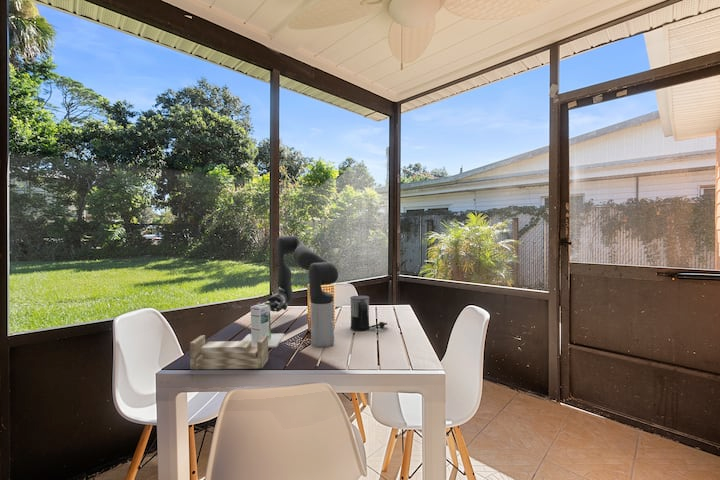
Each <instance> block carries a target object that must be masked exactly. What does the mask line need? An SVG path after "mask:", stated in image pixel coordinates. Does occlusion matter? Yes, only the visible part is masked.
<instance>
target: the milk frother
mask: <svg viewBox="0 0 720 480" xmlns="http://www.w3.org/2000/svg"><path fill="white" fill-rule="evenodd" d="M349 299H350V330H353V331H357V332H358V331H367V330H368V331H369V329H370V328H375V327H380V329H382V328H384V327H385V326H388V322H383V321H380V322H379V323H377V324H373V325H370V313H369V312H370V307H369V306H370V296H368V295H353V296H350V297H349Z"/></svg>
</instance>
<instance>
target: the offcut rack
mask: <svg viewBox="0 0 720 480" xmlns="http://www.w3.org/2000/svg"><path fill="white" fill-rule="evenodd" d="M268 360H269V348H268V335H263V336H262V337H261V338H260V339H259V341H258V342H257V346H251V341H242V340H235V341H233V340H232V341H225V340H224V341H223V340H222V341H208V342H207V343H206V335H205V334H204V335H202V334H201V335H199V336H198V337H196V338H195V339H194V340H192V341H190V342H189V362H190V365H189V367H190V370H234V369H235V370H240V369H241V370H242V369H243V370H246V369H247V370H249V369H250V370H251V369H252V370H253V369H255V370H256V369H263V368H264V367H265V365H266V363H267V362H268Z"/></svg>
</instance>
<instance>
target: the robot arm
mask: <svg viewBox="0 0 720 480" xmlns="http://www.w3.org/2000/svg"><path fill="white" fill-rule="evenodd" d="M290 254H293V256H292V257H293V261H294V263H295V264H296V265H297V266H298V267H299V268H301V269H303V270H306V271H308V284H309V297H310V344H311V346H313V347H315V348H316V347H317V348H325V347H330V346H332V347H333V346H334V344H335V318H334V295H333V294H332V293H331V292H326V291H324V290H322V286H328V285H332V284H334V283H336V282H337V280H338V278H339V271H338V269H337V266H336V265H335V264H334V263H333V262H332V261H329V260H328V259H325V258H324V257H322V256H321V255H319V254H318V253H316V252H315V251H314V250H312V249H311V248H309V246H307V245H306V244H304V243H303V242H302V240H300V238H299V237H297V236H296V235H285V236H284V235H283V236H279V237H278V238H277V239H276V255H277V256H276V258H277V268H278V269H277V273H278V274H277V286H278V288H276V289H274V292H273V294H272V295H271V296H270V297H269V298H267V301H265V302H263V303H262V301H260V302H257V303H256V304H255V305H259V304H267V305H270V312H276V313H279V312H280V311H282V310H284V311H286V310H287V309H288V304H289V303H291V302H292V301H293V298H294V293H293V288H292V277H293V276H292V271H291V268H290V267H289V265H288V264H287V262H286V260H285V255H290Z"/></svg>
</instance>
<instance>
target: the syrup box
mask: <svg viewBox="0 0 720 480" xmlns="http://www.w3.org/2000/svg"><path fill="white" fill-rule="evenodd" d="M271 325H272V323H271V311H270V305H267V304H263V303H262V304H259V305H256V304H254V305H252V306H250V329H251V332H250V334H251V336H252V340H253V341H257V342H258V341H259V339H260V338H261V337H262V336H263V335H268V339H271V334H272V331H271V330H272V328H271V327H272V326H271Z"/></svg>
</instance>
